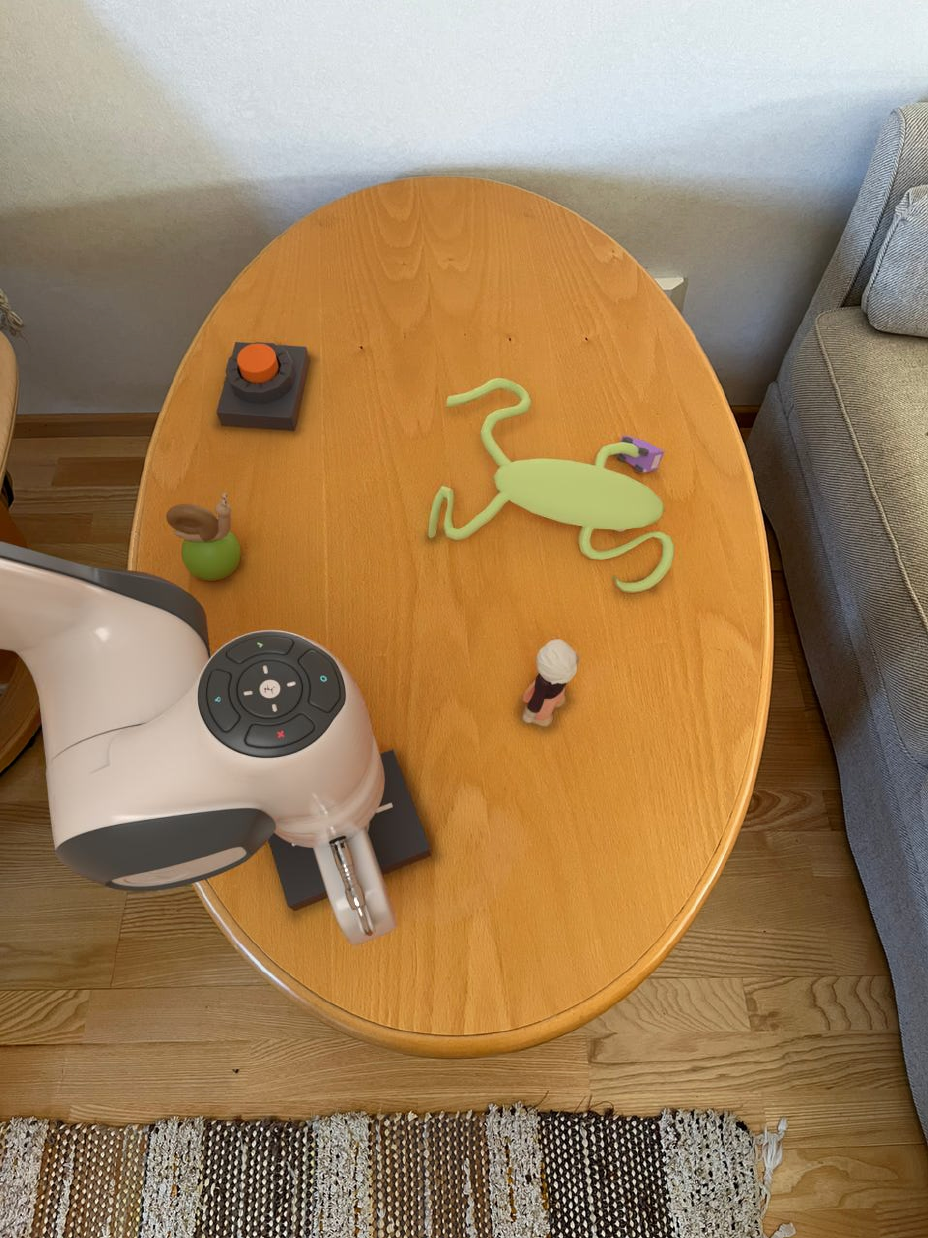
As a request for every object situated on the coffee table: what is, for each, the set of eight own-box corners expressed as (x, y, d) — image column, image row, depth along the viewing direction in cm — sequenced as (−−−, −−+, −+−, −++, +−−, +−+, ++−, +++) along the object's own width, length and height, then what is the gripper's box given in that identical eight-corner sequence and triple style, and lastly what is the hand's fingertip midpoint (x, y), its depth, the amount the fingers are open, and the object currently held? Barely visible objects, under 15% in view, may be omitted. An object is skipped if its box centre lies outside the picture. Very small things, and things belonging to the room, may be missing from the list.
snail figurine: (252, 591, 81) (221, 524, 71) (186, 590, 81) (145, 523, 71) (259, 543, 84) (230, 471, 73) (195, 542, 84) (156, 470, 73)
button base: (294, 431, 90) (288, 406, 87) (221, 425, 90) (211, 400, 87) (309, 360, 95) (304, 334, 91) (239, 355, 95) (231, 329, 91)
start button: (274, 385, 88) (271, 373, 87) (237, 382, 88) (233, 370, 87) (281, 356, 90) (278, 344, 88) (244, 353, 90) (241, 341, 89)
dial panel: (294, 911, 68) (287, 906, 66) (263, 809, 72) (256, 800, 69) (431, 855, 70) (430, 848, 68) (395, 759, 74) (392, 748, 71)
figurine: (459, 397, 92) (459, 360, 87) (697, 461, 89) (712, 427, 84) (400, 531, 85) (396, 499, 80) (658, 608, 81) (671, 580, 76)
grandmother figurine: (538, 665, 78) (553, 603, 67) (576, 682, 78) (598, 622, 66) (505, 736, 75) (514, 684, 64) (544, 754, 74) (560, 704, 63)
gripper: (414, 911, 52) (422, 934, 64) (318, 633, 60) (341, 701, 73) (316, 950, 51) (343, 966, 63) (232, 662, 59) (270, 726, 72)
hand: (341, 822), depth 68 cm, fingers open, 8 cm apart
